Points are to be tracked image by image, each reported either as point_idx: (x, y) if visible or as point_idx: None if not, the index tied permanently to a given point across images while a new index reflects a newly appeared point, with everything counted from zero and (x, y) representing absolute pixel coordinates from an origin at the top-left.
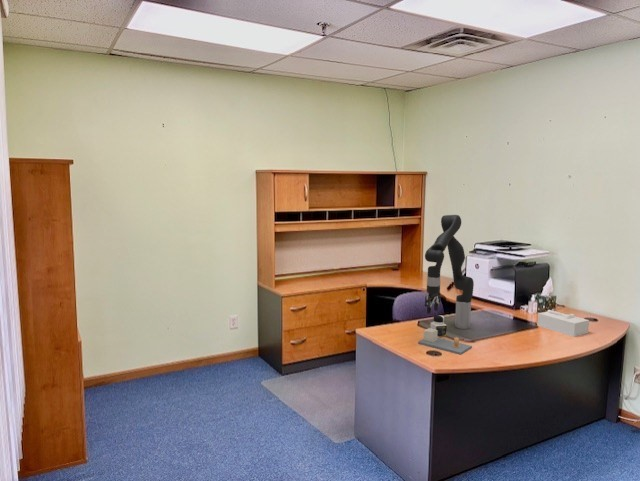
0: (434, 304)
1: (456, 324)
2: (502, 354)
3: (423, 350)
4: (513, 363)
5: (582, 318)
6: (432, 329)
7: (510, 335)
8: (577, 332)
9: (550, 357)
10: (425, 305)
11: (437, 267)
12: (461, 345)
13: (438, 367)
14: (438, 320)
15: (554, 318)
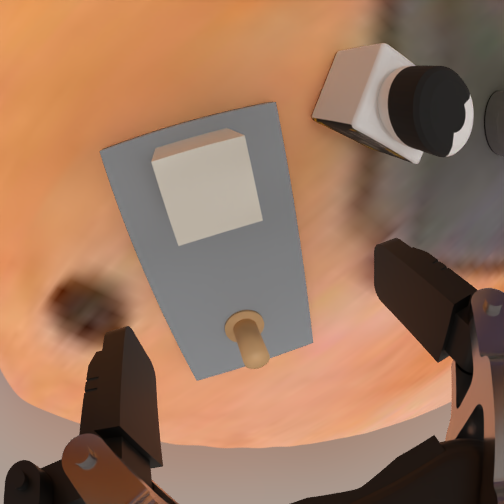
0: (447, 303)
1: (498, 109)
2: (327, 402)
3: (57, 261)
4: (281, 445)
5: None
6: (238, 184)
7: (493, 284)
8: None
9: (384, 425)
10: (17, 490)
11: None
12: (281, 323)
13: (33, 404)
14: (404, 131)
15: None
